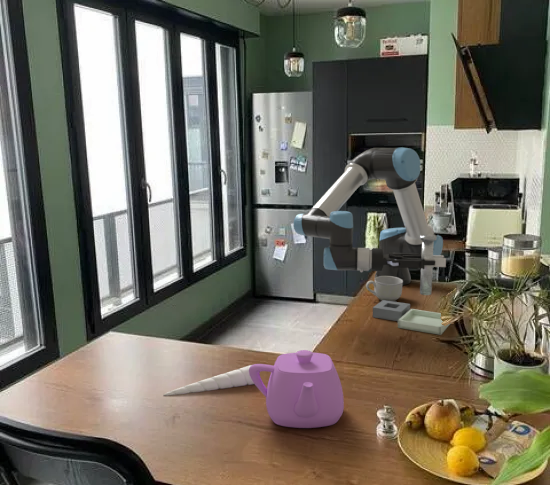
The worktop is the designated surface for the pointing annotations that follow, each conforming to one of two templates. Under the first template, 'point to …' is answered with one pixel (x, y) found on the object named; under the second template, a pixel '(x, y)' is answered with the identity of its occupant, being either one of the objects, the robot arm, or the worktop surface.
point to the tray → (422, 321)
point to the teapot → (301, 390)
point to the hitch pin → (427, 271)
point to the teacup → (386, 287)
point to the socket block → (390, 310)
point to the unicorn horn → (217, 382)
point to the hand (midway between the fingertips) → (444, 261)
